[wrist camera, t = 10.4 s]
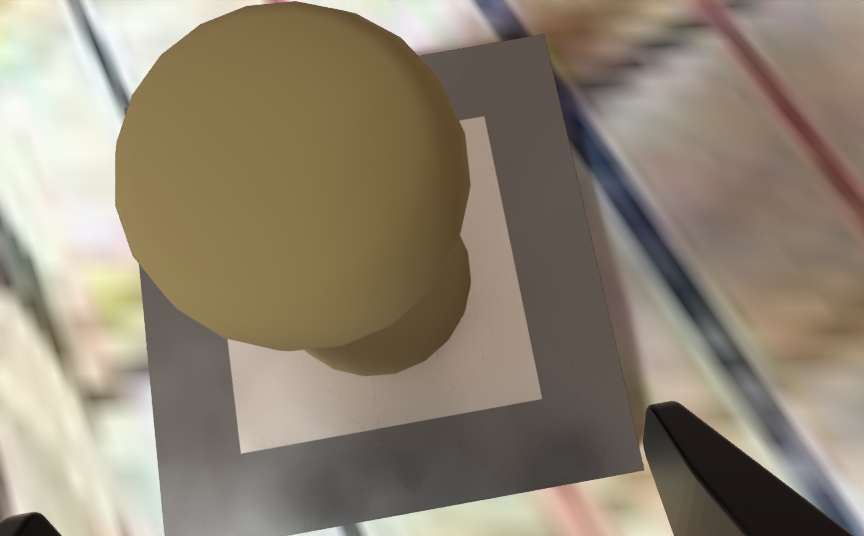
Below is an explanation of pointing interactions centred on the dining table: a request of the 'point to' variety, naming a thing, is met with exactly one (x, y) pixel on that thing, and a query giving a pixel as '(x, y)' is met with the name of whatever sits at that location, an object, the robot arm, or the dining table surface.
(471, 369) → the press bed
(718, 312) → the dining table surface
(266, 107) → the cork
